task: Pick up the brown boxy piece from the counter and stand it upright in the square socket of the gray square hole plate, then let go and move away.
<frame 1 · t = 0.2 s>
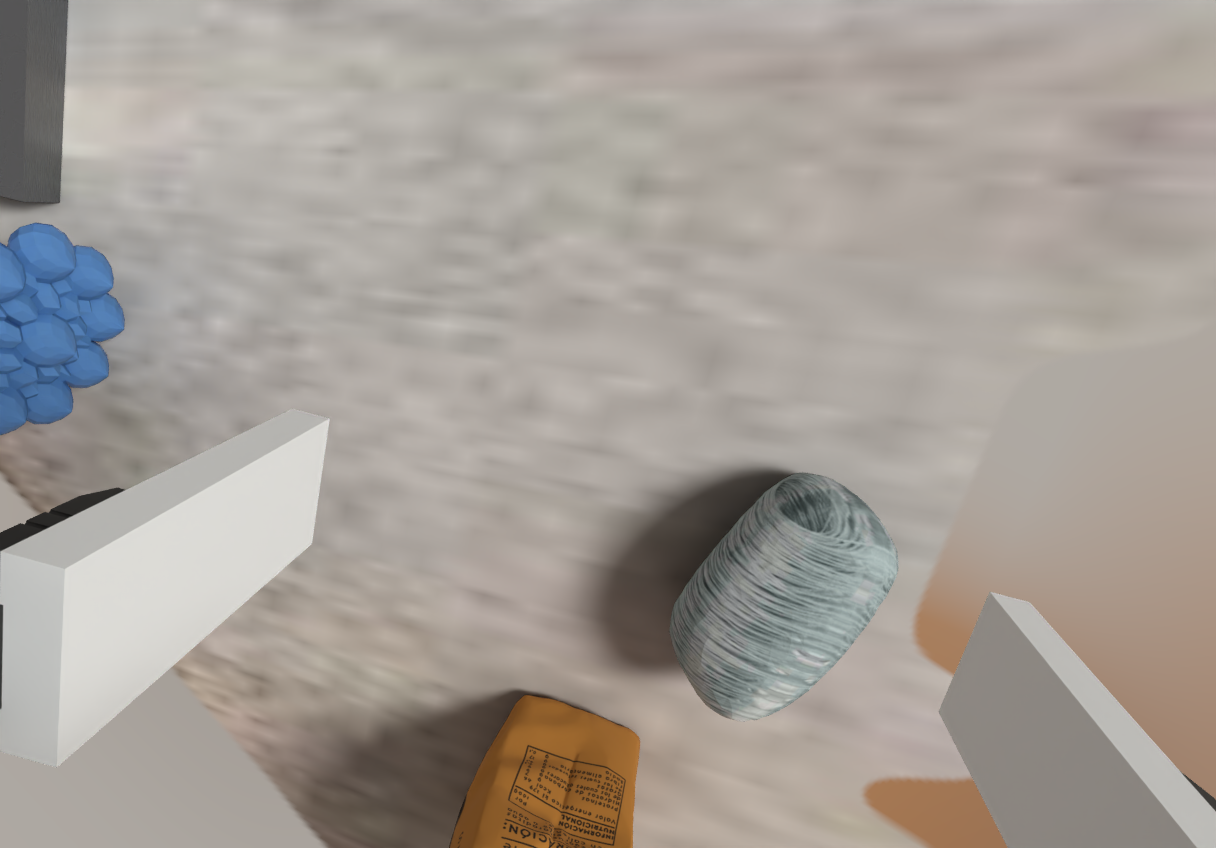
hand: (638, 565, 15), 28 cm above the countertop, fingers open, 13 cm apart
spool: (769, 563, 45), on the countertop
coffee package: (553, 771, 50), on the countertop
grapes: (102, 310, 44), on the countertop
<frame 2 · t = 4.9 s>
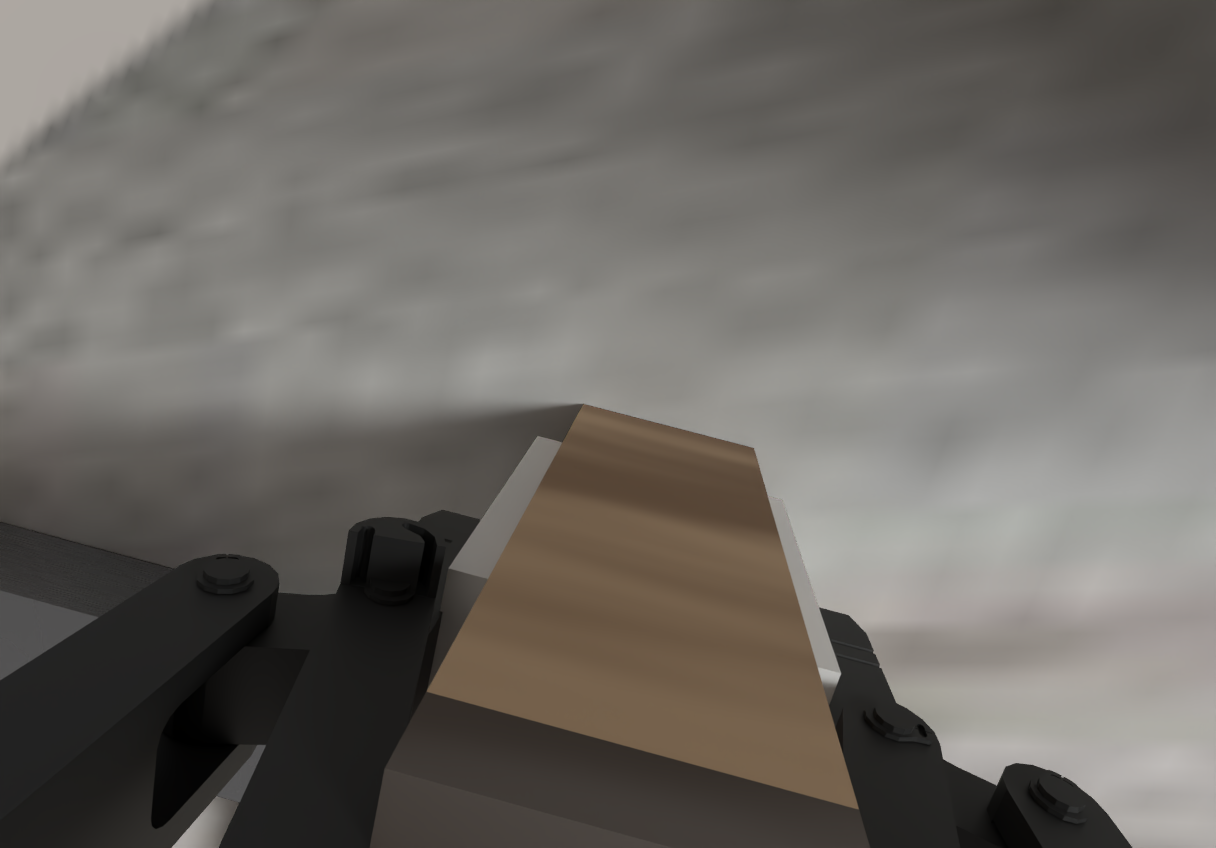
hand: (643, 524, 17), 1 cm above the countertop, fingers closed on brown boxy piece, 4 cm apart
brown boxy piece: (646, 505, 18), on the countertop, touching gripper
gray square hole plate: (197, 799, 22), on the countertop
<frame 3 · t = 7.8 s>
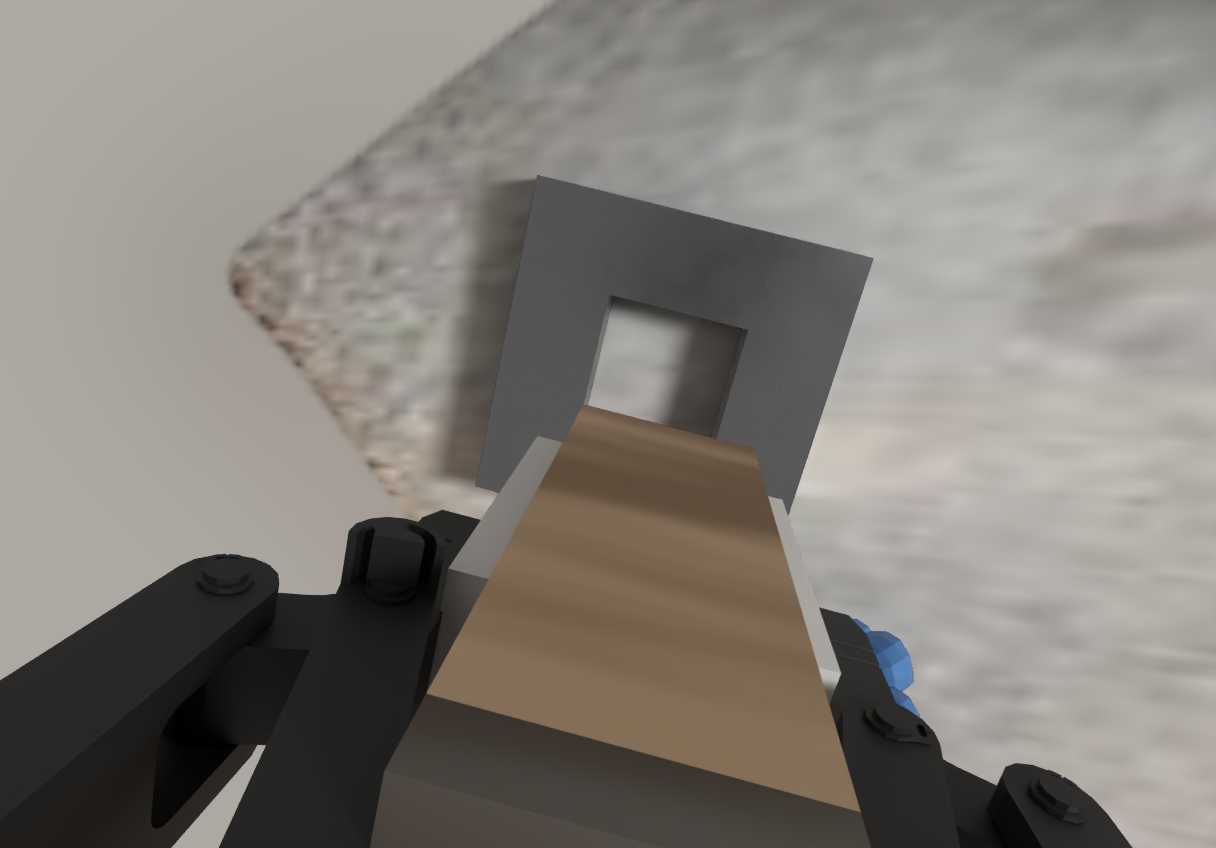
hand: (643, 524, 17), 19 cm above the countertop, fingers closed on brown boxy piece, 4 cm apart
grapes: (787, 650, 39), on the countertop
brown boxy piece: (646, 505, 18), point 18 cm above the countertop, touching gripper
gray square hole plate: (663, 368, 35), on the countertop
when the fingers open (3 cm above the countertop, at t = 10.8 s): brown boxy piece drops 2 cm, resting in gray square hole plate.
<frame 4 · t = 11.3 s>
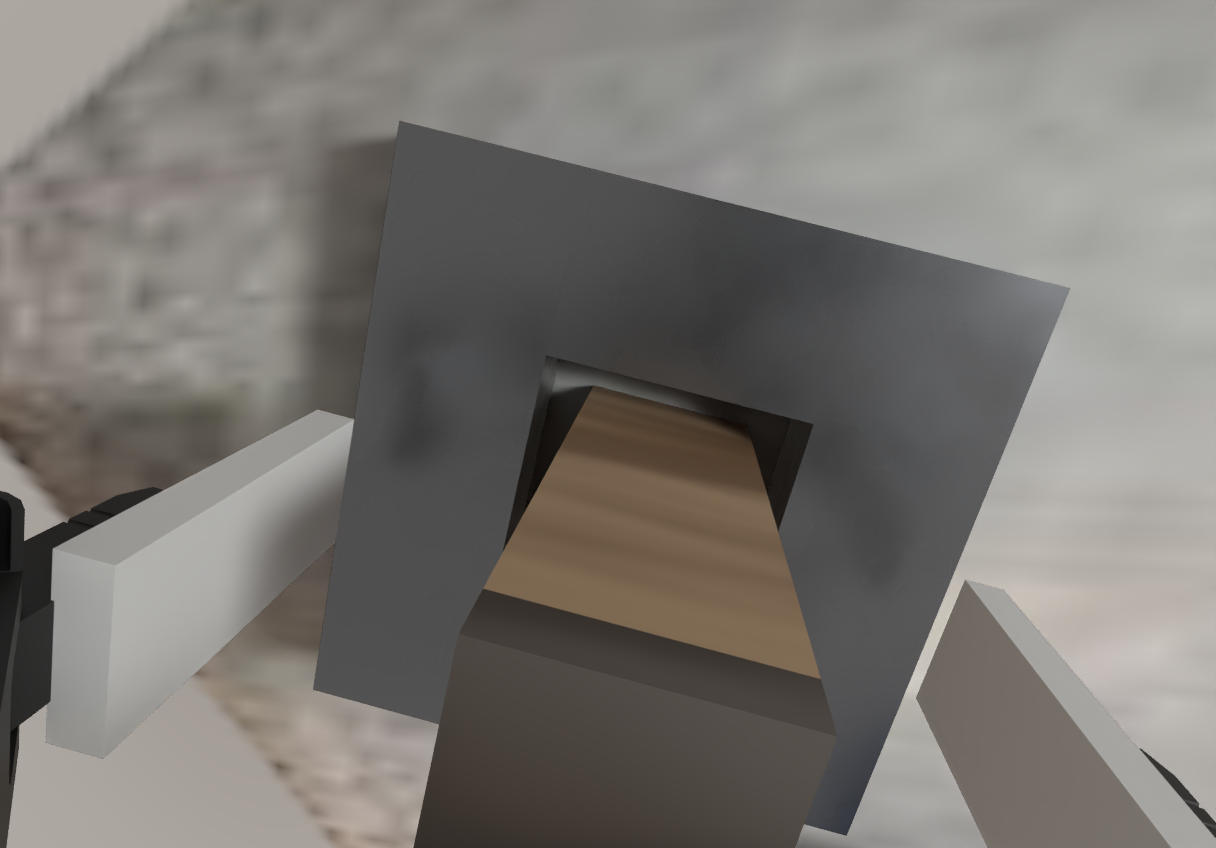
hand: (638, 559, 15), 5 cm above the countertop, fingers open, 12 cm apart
brown boxy piece: (650, 477, 20), resting in gray square hole plate
gray square hole plate: (650, 477, 20), on the countertop
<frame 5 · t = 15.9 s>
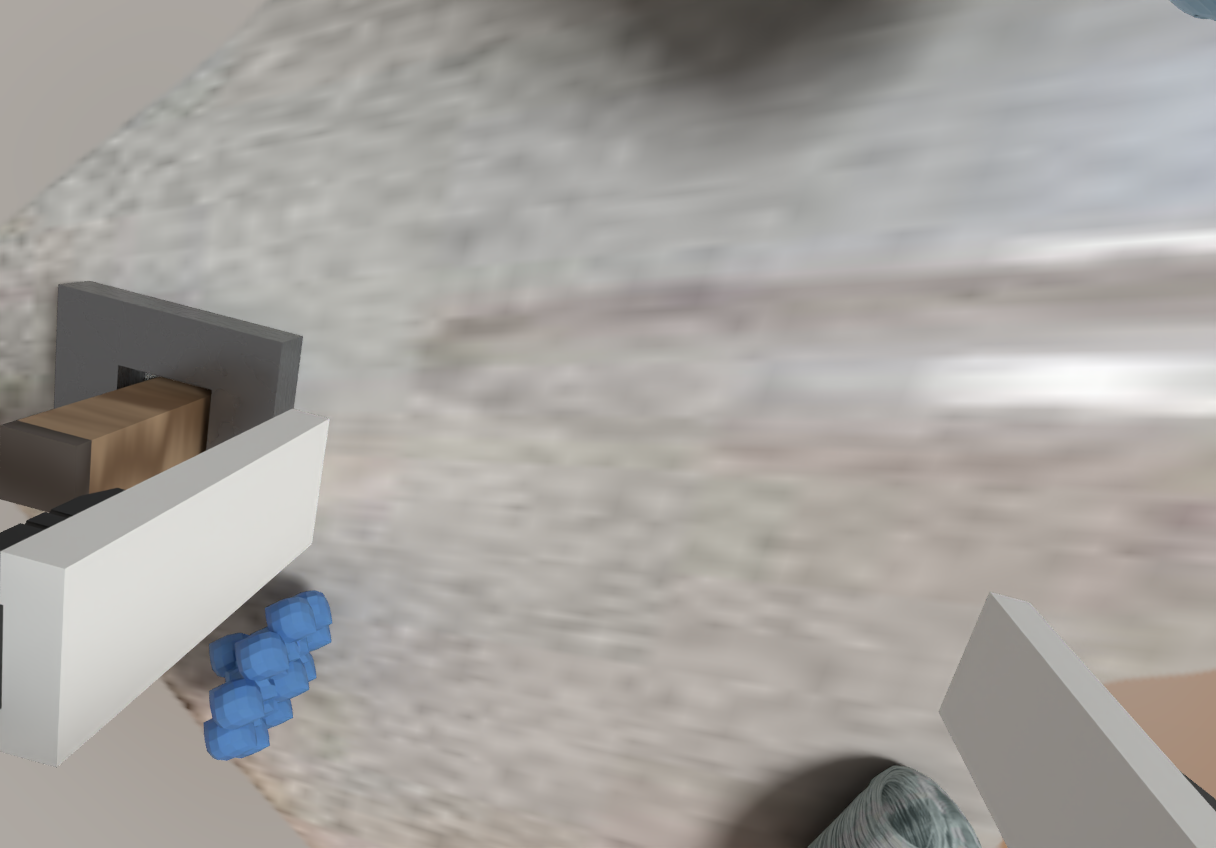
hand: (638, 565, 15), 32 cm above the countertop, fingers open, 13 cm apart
spool: (866, 824, 53), on the countertop
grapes: (306, 616, 53), on the countertop
brown boxy piece: (187, 413, 50), resting in gray square hole plate
gray square hole plate: (186, 413, 50), on the countertop
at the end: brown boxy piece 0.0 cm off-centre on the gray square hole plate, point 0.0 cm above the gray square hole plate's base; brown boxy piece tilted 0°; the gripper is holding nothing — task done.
